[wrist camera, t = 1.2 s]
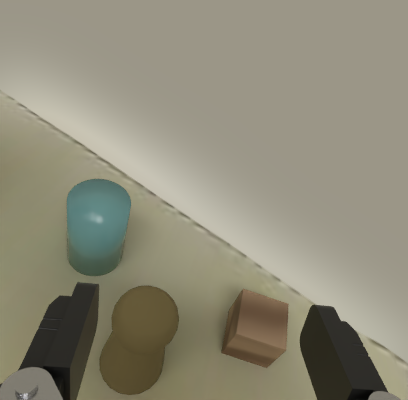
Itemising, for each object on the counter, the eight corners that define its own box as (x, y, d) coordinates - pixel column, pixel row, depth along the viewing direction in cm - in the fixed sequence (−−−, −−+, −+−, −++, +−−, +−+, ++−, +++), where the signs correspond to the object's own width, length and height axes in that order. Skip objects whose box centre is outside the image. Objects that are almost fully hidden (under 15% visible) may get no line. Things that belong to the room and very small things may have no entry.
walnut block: (266, 368, 39) (285, 350, 36) (221, 353, 39) (236, 333, 35) (270, 324, 43) (288, 303, 39) (228, 310, 42) (243, 288, 39)
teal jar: (69, 279, 40) (69, 228, 34) (65, 234, 43) (64, 180, 37) (126, 272, 42) (136, 223, 36) (117, 229, 46) (125, 178, 39)
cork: (128, 318, 39) (143, 260, 31) (175, 355, 37) (202, 304, 30) (85, 365, 35) (89, 312, 27) (135, 409, 33) (155, 367, 26)
